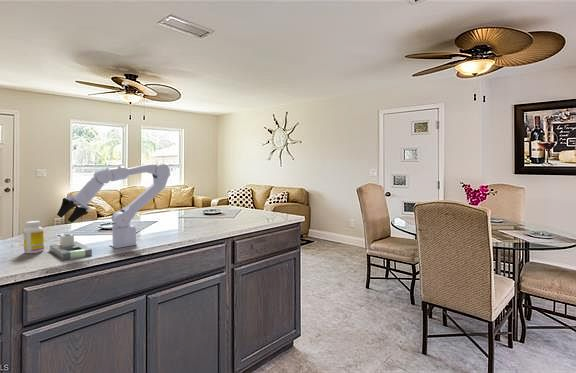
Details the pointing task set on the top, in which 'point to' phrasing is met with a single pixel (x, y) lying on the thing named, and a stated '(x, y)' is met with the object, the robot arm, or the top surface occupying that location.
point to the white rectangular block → (66, 240)
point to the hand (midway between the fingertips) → (64, 218)
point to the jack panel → (71, 251)
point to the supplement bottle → (33, 237)
